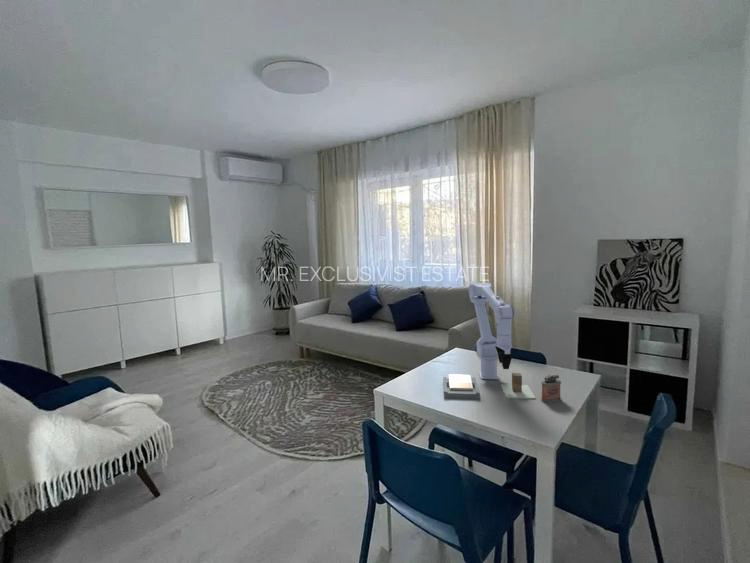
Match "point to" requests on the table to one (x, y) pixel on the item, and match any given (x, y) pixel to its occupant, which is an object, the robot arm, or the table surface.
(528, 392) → the mat
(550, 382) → the lighter
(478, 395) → the switch panel
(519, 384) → the wooden brick
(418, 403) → the table surface
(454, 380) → the rocker switch
